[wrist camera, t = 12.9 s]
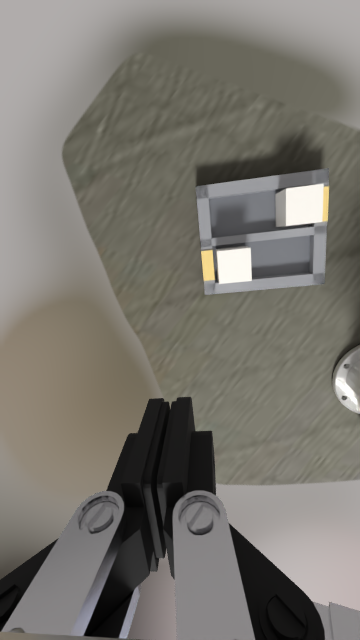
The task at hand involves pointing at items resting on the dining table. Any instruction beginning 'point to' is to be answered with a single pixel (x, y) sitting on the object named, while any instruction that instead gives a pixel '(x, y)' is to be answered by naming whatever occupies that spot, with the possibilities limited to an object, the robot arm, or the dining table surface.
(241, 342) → the dining table surface
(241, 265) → the tab
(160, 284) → the dining table surface
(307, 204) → the tab
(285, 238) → the switch bank
